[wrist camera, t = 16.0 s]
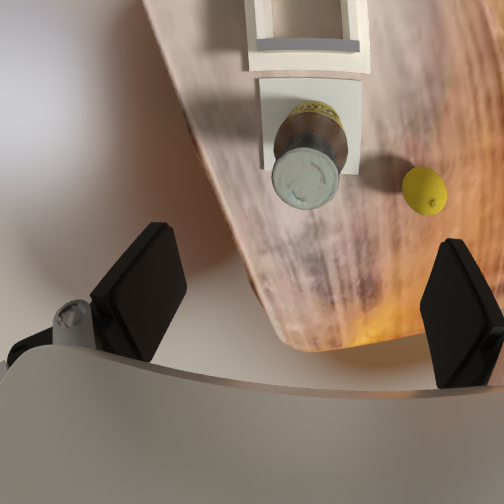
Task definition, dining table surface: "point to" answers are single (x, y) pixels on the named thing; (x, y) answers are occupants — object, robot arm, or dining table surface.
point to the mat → (311, 89)
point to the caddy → (308, 42)
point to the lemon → (424, 191)
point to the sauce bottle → (309, 155)
